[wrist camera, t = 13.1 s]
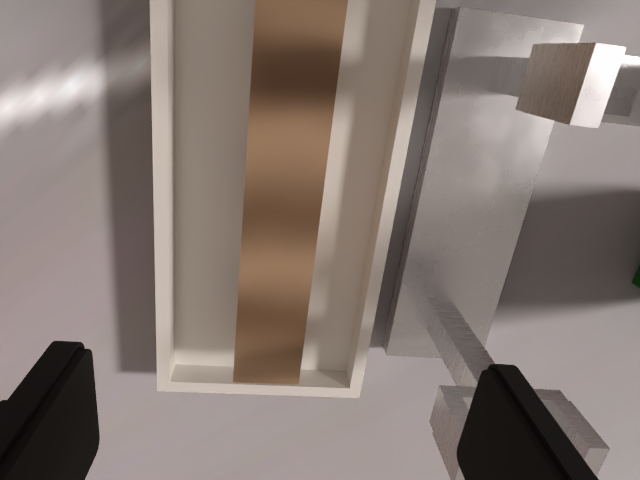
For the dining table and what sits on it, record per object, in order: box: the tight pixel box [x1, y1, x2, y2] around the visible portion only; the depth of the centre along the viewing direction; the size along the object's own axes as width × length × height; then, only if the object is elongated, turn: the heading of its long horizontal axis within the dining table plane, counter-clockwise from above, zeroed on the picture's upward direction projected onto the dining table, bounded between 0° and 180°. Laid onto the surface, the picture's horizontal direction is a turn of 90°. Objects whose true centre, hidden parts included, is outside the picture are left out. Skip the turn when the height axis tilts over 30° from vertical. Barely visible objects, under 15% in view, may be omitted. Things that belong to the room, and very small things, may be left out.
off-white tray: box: [150, 0, 436, 398], centre depth 27 cm, size 28×14×2 cm, turn 173°
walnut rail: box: [233, 0, 348, 385], centre depth 25 cm, size 22×4×4 cm, turn 173°
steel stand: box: [383, 7, 640, 480], centre depth 23 cm, size 22×7×13 cm, turn 173°
